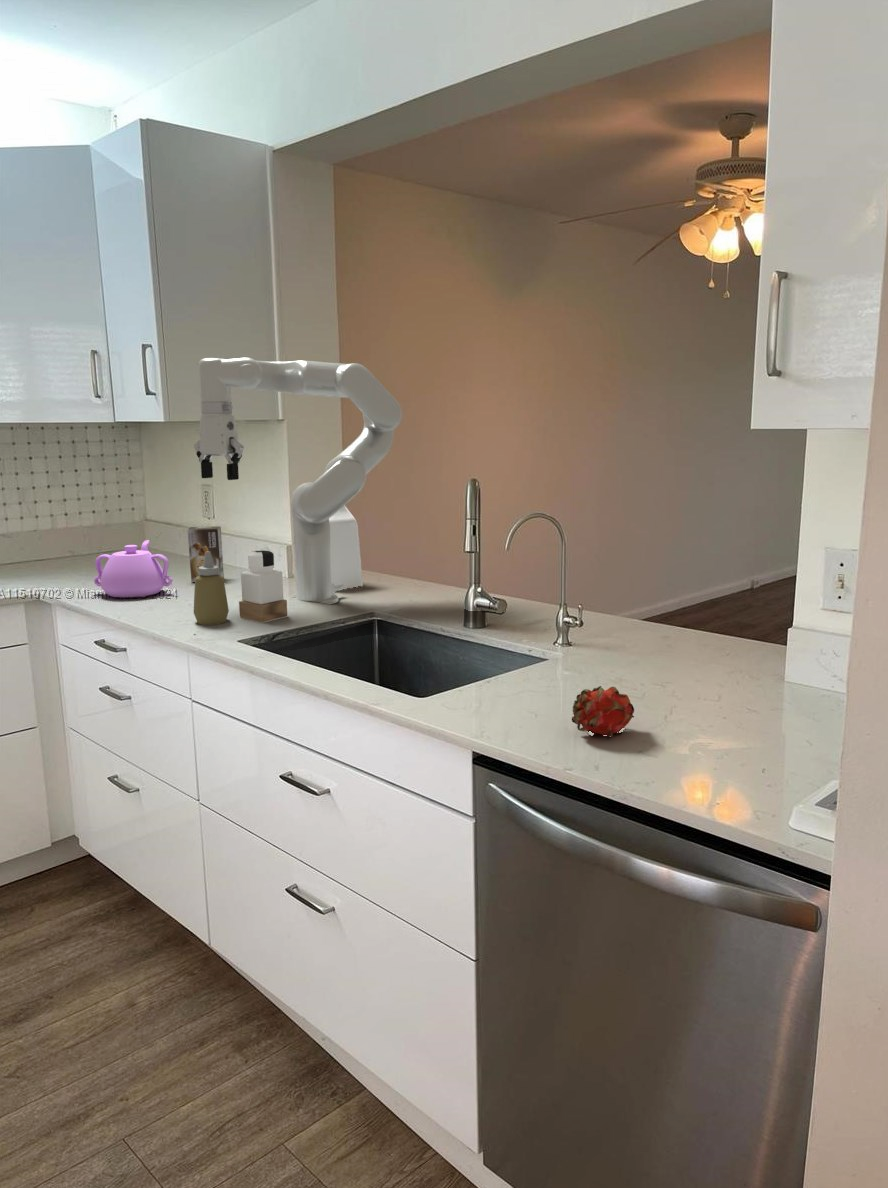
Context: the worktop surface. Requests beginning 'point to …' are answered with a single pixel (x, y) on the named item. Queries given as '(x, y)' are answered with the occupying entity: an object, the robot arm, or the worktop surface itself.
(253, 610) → the base block
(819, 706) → the worktop surface
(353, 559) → the milk
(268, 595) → the medicine bottle
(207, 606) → the squeeze bottle
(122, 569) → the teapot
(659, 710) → the worktop surface
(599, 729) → the dragon fruit
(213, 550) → the coffee box
